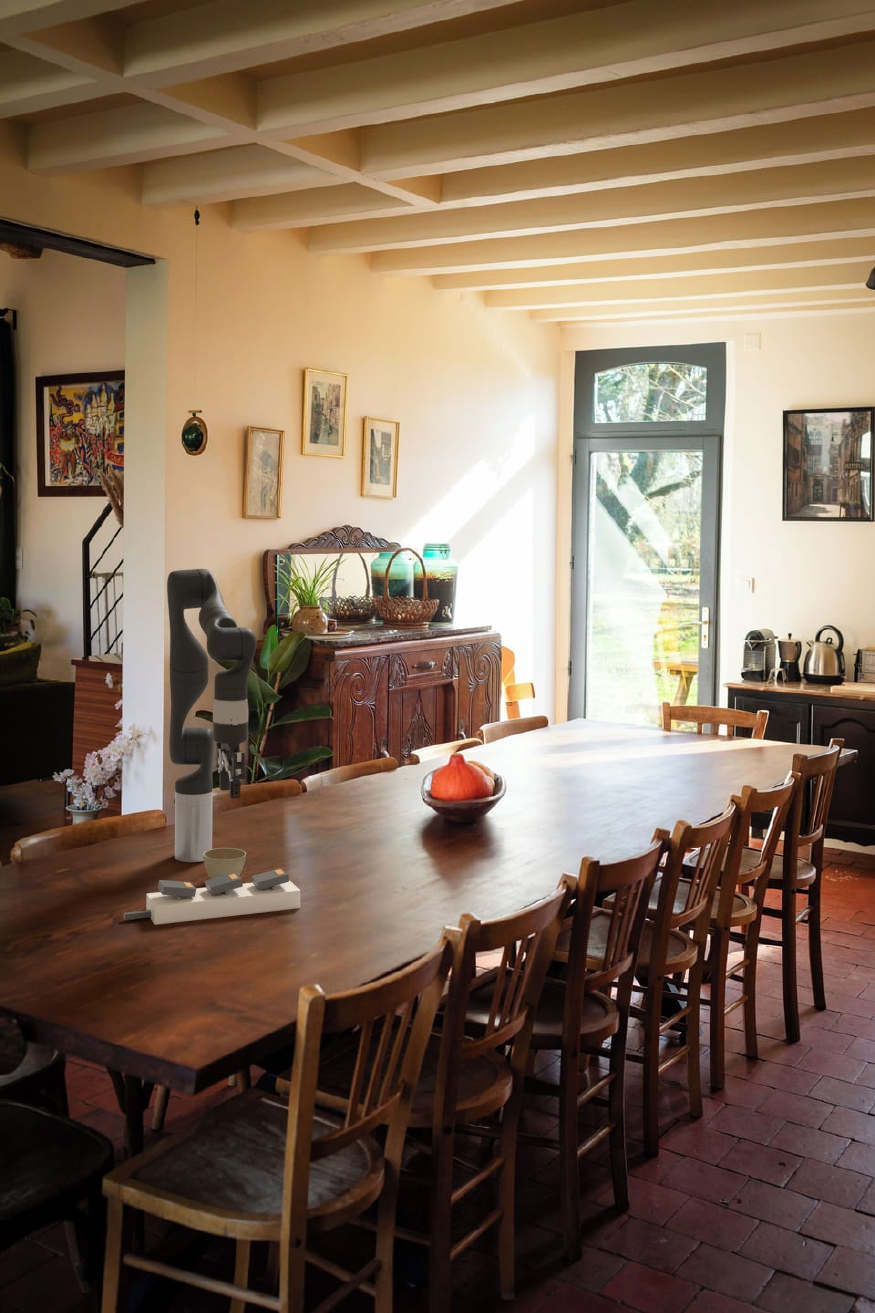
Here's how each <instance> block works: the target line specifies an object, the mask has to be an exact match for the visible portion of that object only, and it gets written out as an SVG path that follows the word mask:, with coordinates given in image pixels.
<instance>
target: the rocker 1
mask: <svg viewBox="0 0 875 1313" xmlns="http://www.w3.org/2000/svg"><path fill="white" fill-rule="evenodd" d="M157 885H158V886H157V889H158V892H161V893H162V895H171V896H186V897H195V894H196V888H197V887H196V886H195V885H194V884H193V883H192V881H179V880H164V879H163V880H162V879H159V880H158V884H157Z"/></svg>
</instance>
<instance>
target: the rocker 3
mask: <svg viewBox="0 0 875 1313" xmlns="http://www.w3.org/2000/svg"><path fill="white" fill-rule="evenodd" d="M289 880H290V879H289V874H288V872H287V871H285V870H284V869H283V868H282V867H280V868H276V869H272V870H269V871H265V872H261V873H258V874H255V875H251V883H253V885H254V886H255V887H256V888H257V889H258V890H262V889H265V888H269V887H272V886H276V885H279V884H283V883H287V882H289Z"/></svg>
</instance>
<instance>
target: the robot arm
mask: <svg viewBox="0 0 875 1313" xmlns="http://www.w3.org/2000/svg"><path fill="white" fill-rule="evenodd" d="M217 582H218V581H217V579H216V577H215V576H214V574H213V573H212V571H210V570H209V569H206V568H196V569H195V568H193V569H179V570H173V571H171V572H170V573H169V574H168V577H167V582H166V594H167V596H166V597H167V608H168V618H169V620H168V621H169V689H170V691H169V692H170V720H169V721H170V722H169V724H170V726H169V741H168V743H169V748H168V749H169V750H168V751H169V758H170V761H171V763H172V764H174V765H181V766H182V765H186V766H187V765H189V766H190V765H199V767H198V768H197V770H195V771H194V772H192V773H190V774H187V775H184V776H181V777H179V778H177V779H176V780H175V783H174V859H175V860H176V861H179V862H183V863H198V862H200V863H201V862H204V859H203V853H204V852H205V851H207V850H211V849H213V766H214V765H213V764H214V751H215V750H214V749H216V751H215V752H216V755H215V758H216V761H215V763H216V764H215V767H216V769H217V772H218V774H219V787H218V788H219V789H220V791H222V792H223V791H229V798H230V799H231V800H233V799H235V800H236V799H240V798H241V787H242V786H241V782H242V781H243V780H245V778H246V777H245V768H246V766H245V764H246V763H245V762H246V761H245V760H246V758H245V756H246V754H245V752H244V751H242V750H241V748H240V745H241V744H242V743H243V744H244V743H246V742H248V740H249V703H248V685H249V684H248V682H249V681H248V680H249V675H250V671H251V667H252V663H253V660H254V658H255V654H256V649H257V646H258V645H257V643H258V642H257V637H256V634H255V633H254V631H253V630H252V629H251V628H249V627H244V626H243V627H242V626H241V627H238V625H237V622H236V619H235V618H234V617H233V615H232V614H231V613H230V611H229V610H228V609H227V606H226V603H225V601H224V598H223V596H222V592H221V590H220V588H219V585H218V583H217ZM189 609H190V610H191V609H200V610H199V613H198V623H199V626H200V627H201V629H202V631H203V633H204V634H205V635H206V650H205V648H204V647H203V645H202V644H201V643H200V641H199V640H198V639H197V637H196V636H195V635H194V633H193V632H192V630H191V629H190V627H189V626H188V623H187V621H186V618H185V613H184V612H185V610H189ZM209 657H210V658H211V659H213V660H215V661H236V662H235V664H234V665H233V667H232V668H229V669H227V670H226V669H225V670H222V671H219V672H217V673H216V674H215V676H214V692H213V694H214V696H213V697H214V700H213V709H212V729H211V728H209V727H184V725H185V721H186V718H187V717H188V714H189V712H190V711H191V710H192V708H193V706H194V705H195V704H196V702H198V700H199V699H200V698H201V696H202V694H203V693H204V692H205V690H206V688H207V686H208V683H209ZM215 746H216V748H215ZM236 773H237V774H236Z"/></svg>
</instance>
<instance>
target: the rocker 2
mask: <svg viewBox="0 0 875 1313" xmlns="http://www.w3.org/2000/svg"><path fill="white" fill-rule="evenodd" d="M204 883H205V884H204V885H205V888H206V889H207V890H208V891H209V893H210V894H211V895H215V894H218V893H222V892H225V891H229V890H232V889H236V888H240V887H243V884H244V883H243V879H242V877H241V876H240V875H238V874H237V873H232V874H228V875H225V876H221V877H217V878H214V879H210V878H209V879H207V880H205V881H204Z"/></svg>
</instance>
